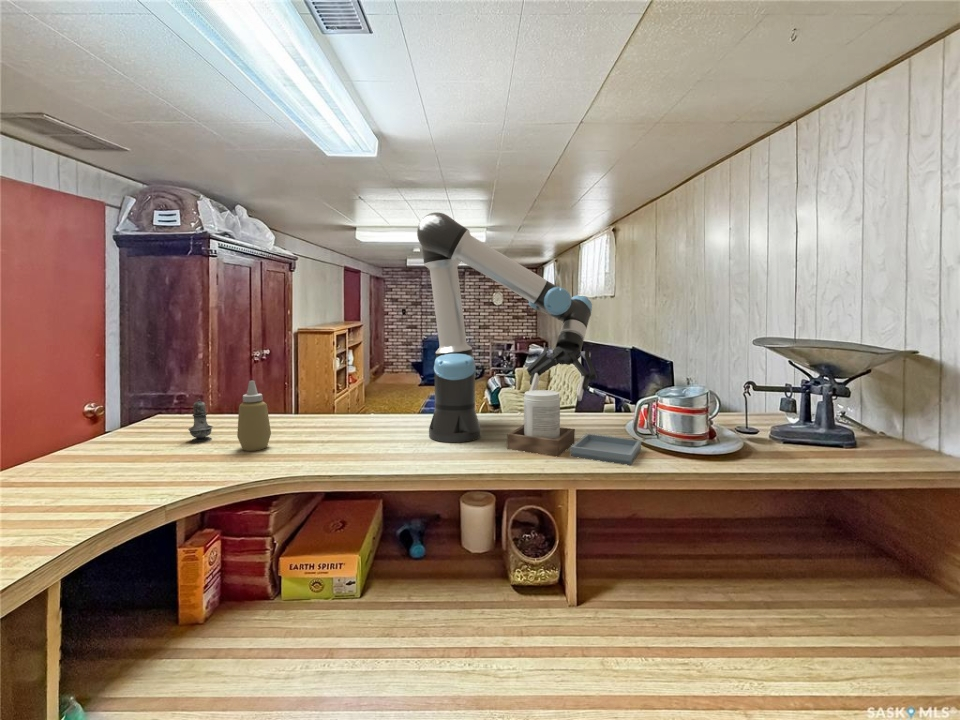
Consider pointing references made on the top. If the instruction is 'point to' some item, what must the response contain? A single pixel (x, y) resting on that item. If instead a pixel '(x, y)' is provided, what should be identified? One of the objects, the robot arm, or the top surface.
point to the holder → (540, 442)
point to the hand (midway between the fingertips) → (554, 396)
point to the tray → (606, 448)
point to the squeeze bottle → (253, 421)
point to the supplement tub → (542, 414)
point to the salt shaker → (200, 424)
